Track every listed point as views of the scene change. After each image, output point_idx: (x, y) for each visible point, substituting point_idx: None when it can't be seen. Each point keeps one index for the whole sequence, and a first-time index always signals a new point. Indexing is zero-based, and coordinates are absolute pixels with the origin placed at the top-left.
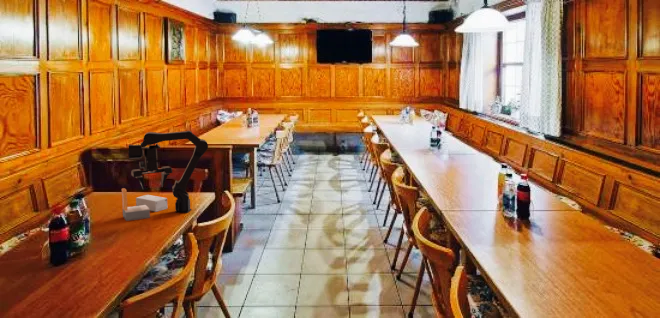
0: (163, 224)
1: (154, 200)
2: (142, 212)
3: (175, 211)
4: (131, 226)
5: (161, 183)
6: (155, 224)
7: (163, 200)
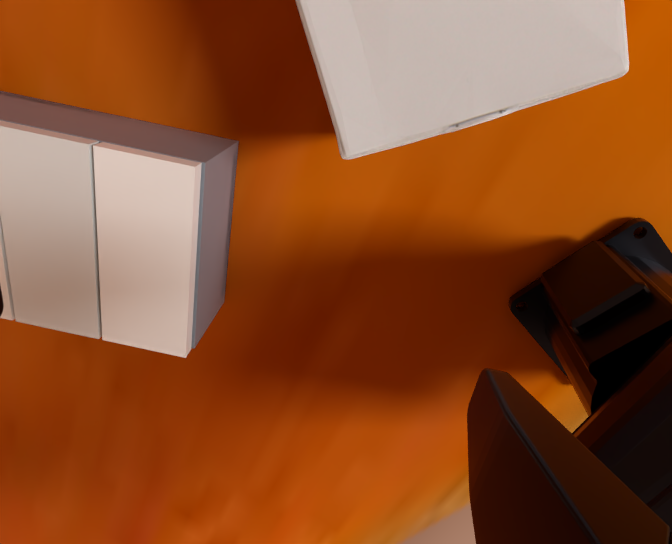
0: (253, 502)
1: (359, 102)
2: None
3: (513, 306)
4: (40, 410)
5: (512, 425)
6: (205, 471)
7: (524, 104)
